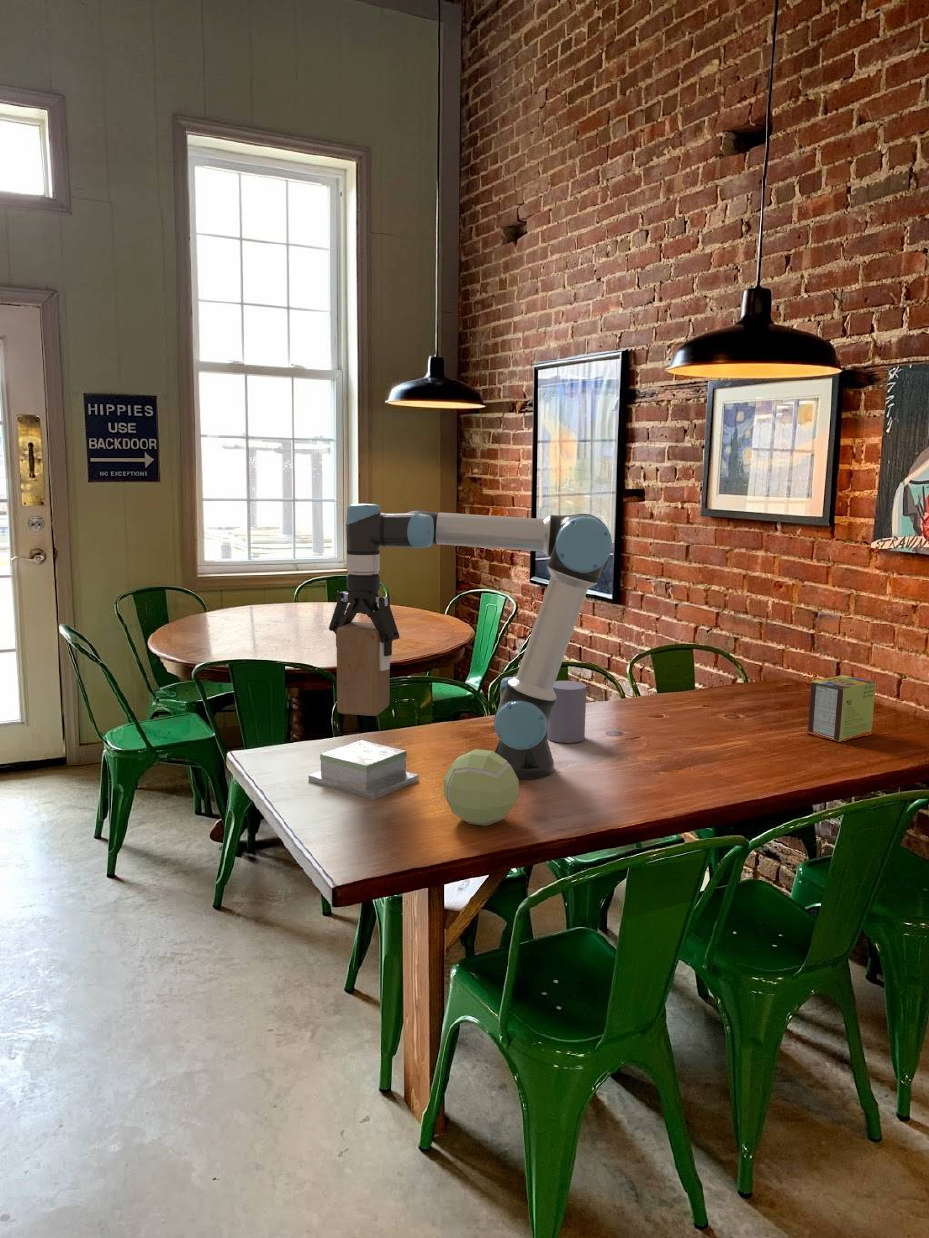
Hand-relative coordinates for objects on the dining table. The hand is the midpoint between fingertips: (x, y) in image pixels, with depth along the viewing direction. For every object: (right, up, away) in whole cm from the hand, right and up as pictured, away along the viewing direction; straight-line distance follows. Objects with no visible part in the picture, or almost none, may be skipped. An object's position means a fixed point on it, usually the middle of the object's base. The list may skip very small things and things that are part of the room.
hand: (363, 665), depth 214 cm
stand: (0, -27, +4) cm, 27 cm away
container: (+51, -22, +41) cm, 69 cm away
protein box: (+128, -22, +48) cm, 139 cm away
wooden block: (0, -11, +2) cm, 11 cm away
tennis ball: (+27, -32, -20) cm, 46 cm away
